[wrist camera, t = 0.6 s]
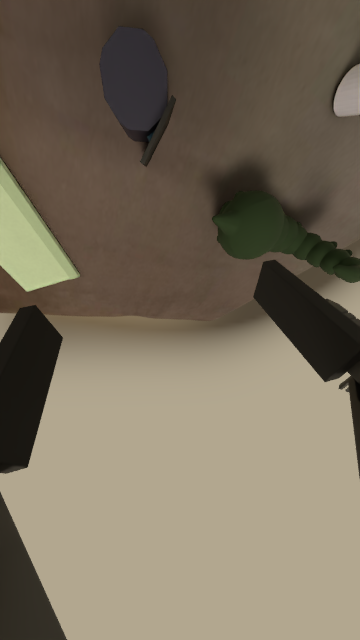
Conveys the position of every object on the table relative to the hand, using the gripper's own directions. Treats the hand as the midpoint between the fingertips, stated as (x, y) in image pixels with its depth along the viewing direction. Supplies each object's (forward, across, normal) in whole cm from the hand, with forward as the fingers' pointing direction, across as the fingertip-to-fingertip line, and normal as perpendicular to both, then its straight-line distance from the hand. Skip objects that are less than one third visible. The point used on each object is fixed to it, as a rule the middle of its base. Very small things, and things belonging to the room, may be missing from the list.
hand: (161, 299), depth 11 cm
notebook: (+25, -19, -1) cm, 31 cm away
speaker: (+25, +2, +9) cm, 26 cm away
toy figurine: (+25, +21, -6) cm, 33 cm away
